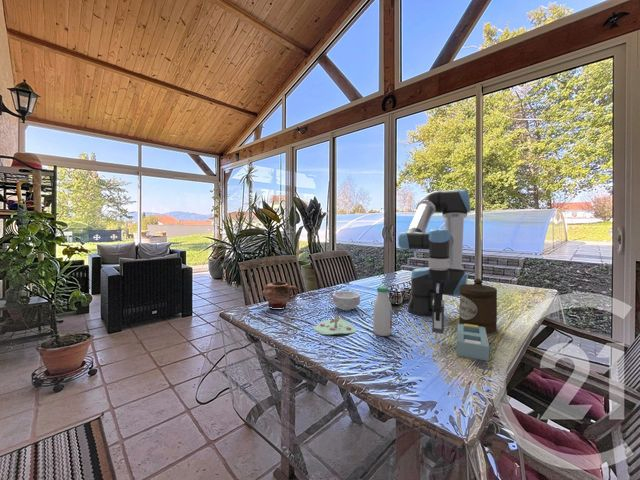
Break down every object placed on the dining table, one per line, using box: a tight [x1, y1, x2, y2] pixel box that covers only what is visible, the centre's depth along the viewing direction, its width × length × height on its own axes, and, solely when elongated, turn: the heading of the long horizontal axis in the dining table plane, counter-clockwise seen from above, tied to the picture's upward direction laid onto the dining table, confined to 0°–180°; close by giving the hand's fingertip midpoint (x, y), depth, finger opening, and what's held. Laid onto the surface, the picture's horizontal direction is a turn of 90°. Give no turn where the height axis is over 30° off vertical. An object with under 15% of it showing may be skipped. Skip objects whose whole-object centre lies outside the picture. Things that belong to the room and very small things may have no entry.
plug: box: [431, 299, 446, 334], centre depth 114 cm, size 4×4×12 cm
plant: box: [312, 309, 357, 336], centre depth 133 cm, size 25×21×9 cm
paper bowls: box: [332, 290, 361, 311], centre depth 159 cm, size 15×15×8 cm
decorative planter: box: [261, 281, 299, 308], centre depth 161 cm, size 20×12×14 cm, turn 105°
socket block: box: [456, 323, 490, 362], centre depth 109 cm, size 10×20×5 cm, turn 154°
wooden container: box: [458, 278, 498, 334], centre depth 129 cm, size 15×15×22 cm
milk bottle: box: [372, 285, 393, 337], centre depth 123 cm, size 8×8×20 cm
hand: (438, 325), depth 115 cm, fingers closed on plug, 4 cm apart
